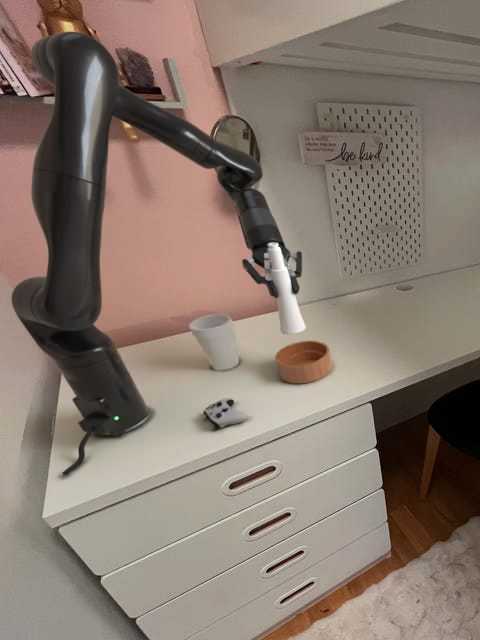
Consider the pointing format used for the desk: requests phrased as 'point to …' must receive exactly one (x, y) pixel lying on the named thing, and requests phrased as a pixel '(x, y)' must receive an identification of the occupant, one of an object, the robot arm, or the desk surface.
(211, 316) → the foam cup
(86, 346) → the robot arm
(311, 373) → the bowl
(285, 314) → the cosmetic bottle
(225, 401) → the game controller
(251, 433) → the desk surface
